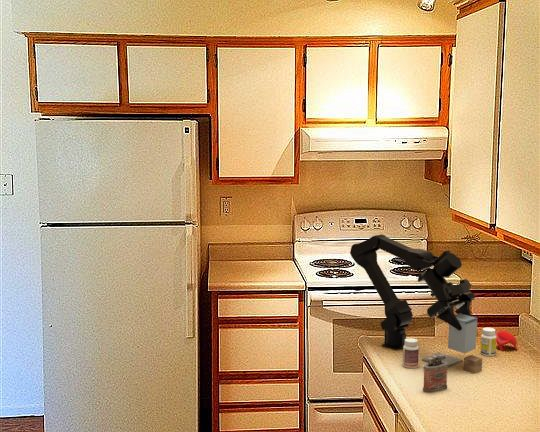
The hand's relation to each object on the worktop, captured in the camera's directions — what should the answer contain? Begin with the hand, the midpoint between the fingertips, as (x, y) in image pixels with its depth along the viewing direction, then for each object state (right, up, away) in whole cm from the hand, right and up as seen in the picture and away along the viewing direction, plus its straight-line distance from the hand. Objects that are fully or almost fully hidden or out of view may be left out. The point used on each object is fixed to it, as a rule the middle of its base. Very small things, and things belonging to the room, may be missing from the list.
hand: (466, 327), depth 216 cm
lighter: (-13, -16, -14) cm, 25 cm away
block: (+2, -13, 0) cm, 13 cm away
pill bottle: (-17, -13, +4) cm, 21 cm away
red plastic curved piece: (+19, -10, +20) cm, 29 cm away
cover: (-1, -7, +2) cm, 7 cm away
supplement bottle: (+11, -11, +15) cm, 21 cm away
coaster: (-6, -12, +8) cm, 16 cm away
